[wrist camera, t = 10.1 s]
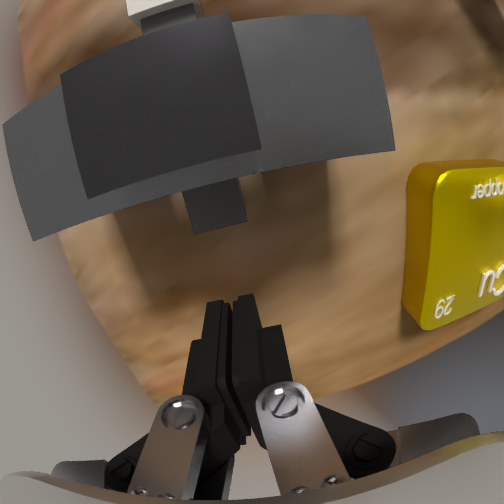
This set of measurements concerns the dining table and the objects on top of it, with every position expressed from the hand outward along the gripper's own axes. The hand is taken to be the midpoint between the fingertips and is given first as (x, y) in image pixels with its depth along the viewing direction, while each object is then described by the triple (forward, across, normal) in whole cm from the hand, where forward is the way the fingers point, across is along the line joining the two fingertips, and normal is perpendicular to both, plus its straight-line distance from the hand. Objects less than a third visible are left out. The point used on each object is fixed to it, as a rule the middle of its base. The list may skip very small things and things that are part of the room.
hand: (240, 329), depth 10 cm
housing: (+11, +1, -8) cm, 14 cm away
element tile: (+13, -21, +5) cm, 25 cm away
